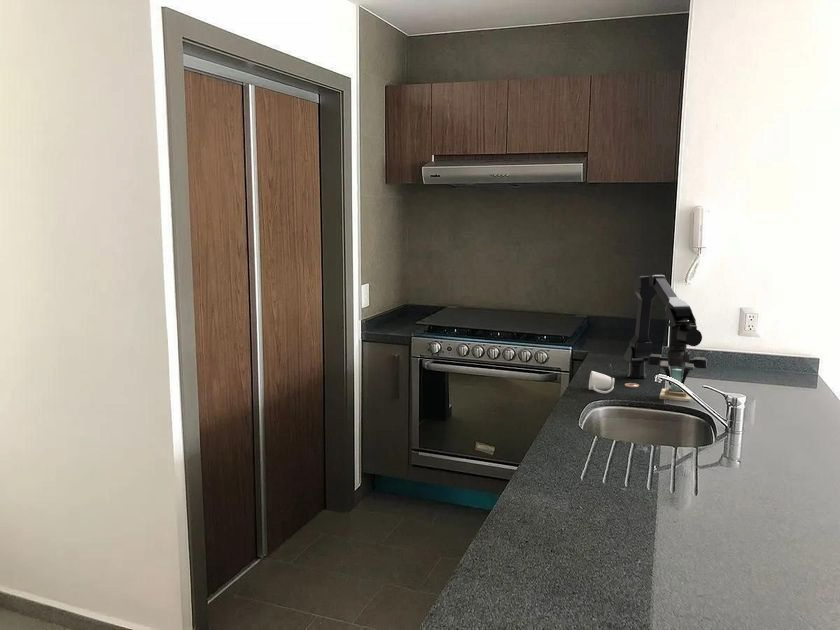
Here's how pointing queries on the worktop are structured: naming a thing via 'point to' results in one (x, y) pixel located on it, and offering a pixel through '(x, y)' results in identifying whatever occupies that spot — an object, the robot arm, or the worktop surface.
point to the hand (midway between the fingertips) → (676, 385)
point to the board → (674, 395)
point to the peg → (678, 376)
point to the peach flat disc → (631, 385)
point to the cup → (600, 382)
